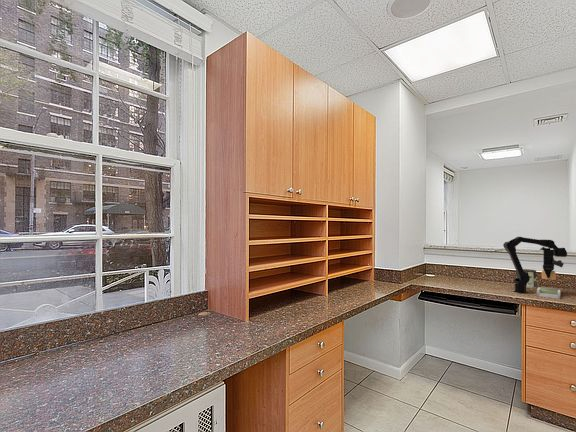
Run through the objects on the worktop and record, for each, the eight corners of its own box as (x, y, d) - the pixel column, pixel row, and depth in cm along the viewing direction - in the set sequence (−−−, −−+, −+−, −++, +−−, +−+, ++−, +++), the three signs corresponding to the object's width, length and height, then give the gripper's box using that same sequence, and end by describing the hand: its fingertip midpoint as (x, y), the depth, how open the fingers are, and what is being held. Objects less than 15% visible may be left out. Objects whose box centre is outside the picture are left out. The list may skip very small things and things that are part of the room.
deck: (560, 298, 212) (559, 292, 212) (537, 295, 220) (536, 289, 220) (561, 292, 232) (560, 286, 233) (540, 289, 241) (539, 284, 241)
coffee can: (530, 285, 258) (529, 269, 259) (539, 288, 248) (539, 270, 248) (517, 285, 258) (517, 269, 259) (527, 288, 248) (526, 270, 248)
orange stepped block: (555, 279, 222) (555, 271, 222) (541, 278, 227) (541, 270, 227) (555, 278, 226) (555, 270, 227) (541, 277, 232) (541, 269, 232)
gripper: (563, 258, 215) (563, 280, 215) (562, 256, 229) (563, 277, 228) (542, 257, 222) (542, 278, 222) (543, 255, 236) (543, 275, 236)
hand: (548, 277), depth 227 cm, fingers closed on orange stepped block, 6 cm apart
